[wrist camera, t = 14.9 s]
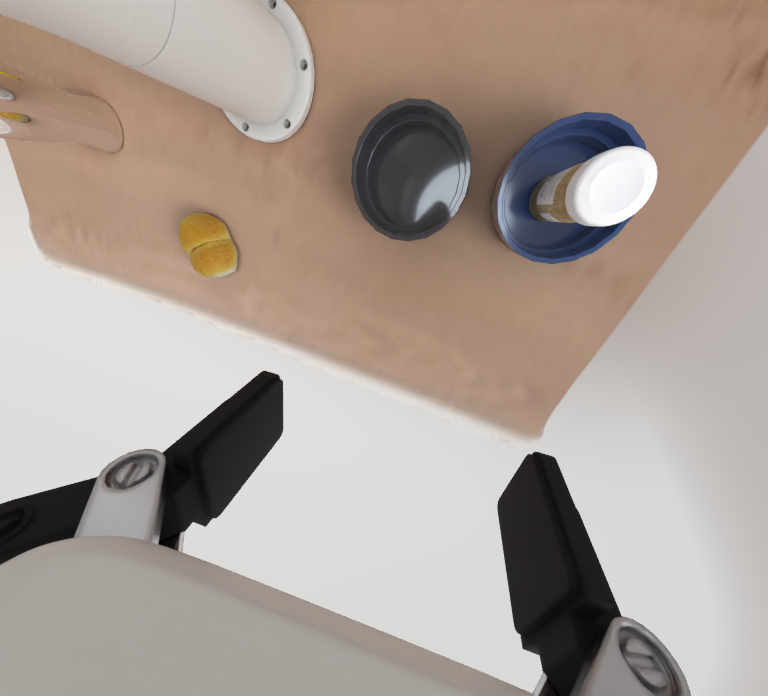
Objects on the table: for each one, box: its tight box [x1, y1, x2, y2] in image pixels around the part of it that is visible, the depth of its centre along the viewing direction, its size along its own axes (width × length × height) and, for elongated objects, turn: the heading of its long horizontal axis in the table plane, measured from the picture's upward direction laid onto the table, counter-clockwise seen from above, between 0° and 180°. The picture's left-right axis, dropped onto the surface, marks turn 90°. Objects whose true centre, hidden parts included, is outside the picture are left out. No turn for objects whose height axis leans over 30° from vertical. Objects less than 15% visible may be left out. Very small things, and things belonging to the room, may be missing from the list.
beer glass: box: [0, 62, 123, 153], centre depth 31 cm, size 7×7×15 cm
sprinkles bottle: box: [529, 146, 657, 226], centre depth 23 cm, size 5×5×14 cm
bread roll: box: [179, 213, 238, 278], centre depth 40 cm, size 8×9×4 cm
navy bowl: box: [492, 112, 646, 264], centre depth 27 cm, size 12×12×5 cm
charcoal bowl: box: [351, 99, 471, 241], centre depth 29 cm, size 12×12×5 cm
